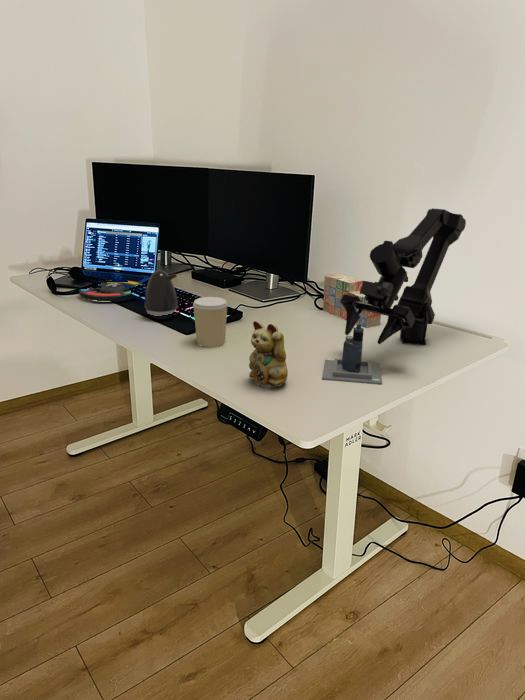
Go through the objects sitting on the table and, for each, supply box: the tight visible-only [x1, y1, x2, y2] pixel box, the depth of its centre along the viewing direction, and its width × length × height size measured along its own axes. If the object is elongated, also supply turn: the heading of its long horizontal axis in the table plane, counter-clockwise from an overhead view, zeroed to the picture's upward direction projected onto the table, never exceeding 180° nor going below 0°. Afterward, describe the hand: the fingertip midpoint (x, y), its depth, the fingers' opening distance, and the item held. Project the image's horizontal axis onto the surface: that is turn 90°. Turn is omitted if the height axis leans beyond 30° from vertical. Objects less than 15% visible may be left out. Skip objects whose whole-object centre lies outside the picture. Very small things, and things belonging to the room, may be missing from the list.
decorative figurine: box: [248, 320, 289, 390], centre depth 125 cm, size 10×8×15 cm
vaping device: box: [341, 324, 364, 373], centre depth 132 cm, size 3×5×12 cm, turn 36°
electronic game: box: [78, 280, 144, 301], centre depth 195 cm, size 23×23×5 cm
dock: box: [321, 357, 383, 385], centre depth 133 cm, size 14×12×2 cm
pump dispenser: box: [144, 269, 179, 316], centre depth 169 cm, size 10×10×15 cm
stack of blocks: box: [322, 273, 382, 328], centre depth 174 cm, size 21×6×12 cm, turn 33°
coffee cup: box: [192, 296, 228, 348], centre depth 149 cm, size 9×9×12 cm
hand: (361, 338), depth 133 cm, fingers open, 9 cm apart
